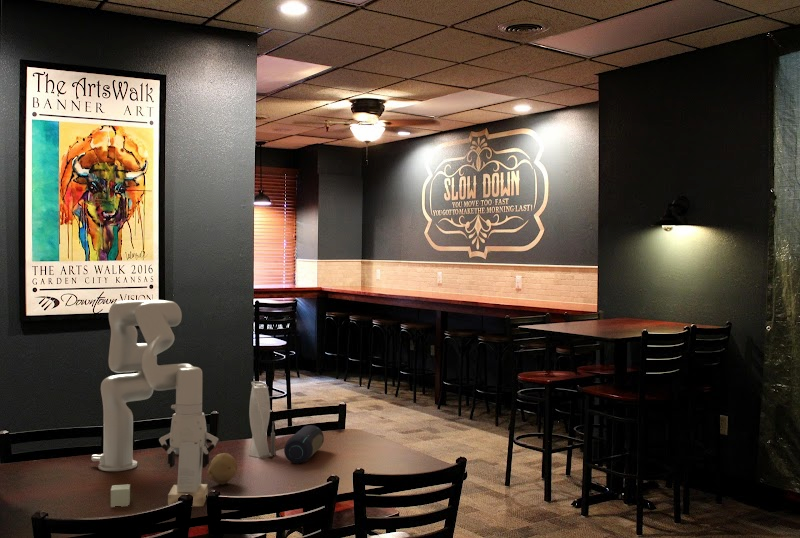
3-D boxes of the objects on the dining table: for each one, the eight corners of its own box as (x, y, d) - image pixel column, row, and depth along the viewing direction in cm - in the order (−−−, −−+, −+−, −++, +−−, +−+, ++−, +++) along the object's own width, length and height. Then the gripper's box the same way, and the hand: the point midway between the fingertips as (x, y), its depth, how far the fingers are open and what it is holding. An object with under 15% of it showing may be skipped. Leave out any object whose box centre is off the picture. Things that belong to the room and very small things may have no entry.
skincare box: (182, 484, 238) (183, 435, 237) (202, 484, 238) (204, 435, 238) (176, 492, 229) (178, 442, 229) (197, 493, 230) (199, 442, 229)
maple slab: (167, 508, 228) (168, 494, 228) (173, 497, 238) (173, 484, 238) (203, 507, 229) (203, 493, 229) (207, 497, 239) (207, 483, 239)
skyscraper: (260, 460, 282) (261, 382, 282) (243, 457, 286) (244, 380, 286) (276, 455, 289) (277, 379, 289) (259, 452, 293) (260, 377, 293)
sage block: (110, 507, 227) (110, 490, 227) (112, 502, 232) (112, 485, 232) (128, 506, 228) (129, 489, 228) (129, 500, 233) (130, 484, 233)
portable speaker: (309, 466, 273) (309, 438, 273) (281, 465, 275) (281, 437, 275) (326, 449, 298) (326, 423, 298) (300, 448, 300) (300, 422, 300)
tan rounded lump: (243, 485, 250) (243, 453, 250) (218, 490, 244) (219, 458, 244) (227, 479, 257) (228, 448, 257) (203, 484, 251) (203, 453, 251)
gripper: (156, 411, 229) (155, 469, 229) (215, 411, 229) (215, 470, 230) (163, 406, 237) (162, 462, 237) (220, 406, 237) (220, 463, 237)
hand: (188, 466), depth 233 cm, fingers open, 9 cm apart
